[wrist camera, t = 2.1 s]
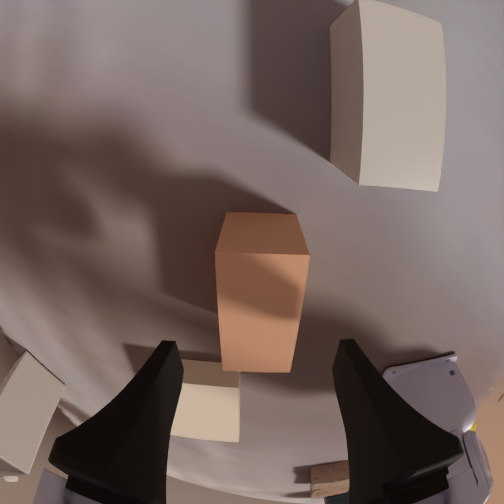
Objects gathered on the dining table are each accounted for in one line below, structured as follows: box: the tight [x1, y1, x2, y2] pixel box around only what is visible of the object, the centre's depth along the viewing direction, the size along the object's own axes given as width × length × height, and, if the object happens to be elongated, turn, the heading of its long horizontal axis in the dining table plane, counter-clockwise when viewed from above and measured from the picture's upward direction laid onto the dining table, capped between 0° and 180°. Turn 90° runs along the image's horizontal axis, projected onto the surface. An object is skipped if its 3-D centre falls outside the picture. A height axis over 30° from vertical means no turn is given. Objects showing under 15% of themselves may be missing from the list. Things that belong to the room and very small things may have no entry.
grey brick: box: [329, 0, 446, 192], centre depth 10 cm, size 4×8×5 cm, turn 1°
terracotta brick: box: [215, 212, 310, 372], centre depth 16 cm, size 4×8×5 cm, turn 179°
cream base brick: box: [150, 355, 240, 442], centre depth 24 cm, size 8×12×3 cm, turn 178°
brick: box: [310, 461, 349, 498], centre depth 39 cm, size 17×8×5 cm, turn 10°
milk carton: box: [0, 351, 66, 482], centre depth 18 cm, size 7×7×19 cm
